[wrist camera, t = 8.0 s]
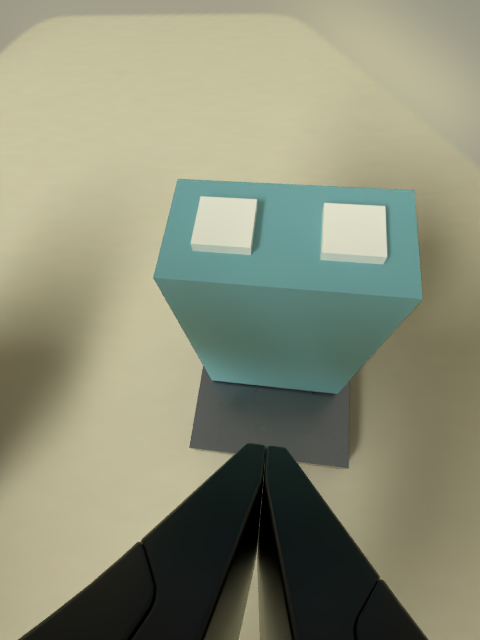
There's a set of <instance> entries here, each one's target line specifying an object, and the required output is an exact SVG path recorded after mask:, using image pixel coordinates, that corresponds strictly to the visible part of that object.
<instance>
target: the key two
mask: <svg viewBox="0 0 480 640" xmlns="http://www.w3.org/2000/svg"><path fill="white" fill-rule="evenodd" d="M153 278H154V280H155V282H156V283H157V285H158V287H159V289H160V290H161V292H162V294H163V296H164V297H165V299H166V301H167V303H168V304H169V306H170V308H171V310H172V311H173V313H174V315H175V317H176V318H177V320H178V322H179V324H180V325H181V327H182V329H183V331H184V332H185V334H186V336H187V338H188V339H189V341H190V343H191V345H192V346H193V348H194V350H195V352H196V353H197V355H198V357H199V359H200V360H201V362H202V364H203V366H204V367H205V369H206V371H207V373H208V374H209V376H210V378H211V380H214V381H223V382H232V383H242V384H251V385H260V386H269V387H278V388H287V389H297V390H306V391H315V392H324V393H333V394H338V393H339V392H340V390H341V389H342V388H343V387H344V386H345V385H346V384H347V383H348V382H349V380H350V379H351V378H352V377H353V376H354V375H355V374H356V373H357V372H358V370H359V369H360V368H361V367H362V366H363V365H364V364H365V363H366V362H367V360H368V359H369V358H370V357H371V356H372V355H373V354H374V353H375V352H376V350H377V349H378V348H379V347H380V346H381V345H382V344H383V343H384V342H385V340H386V339H387V338H388V337H389V336H390V335H391V334H392V333H393V332H394V330H395V329H396V328H397V327H398V326H399V325H400V324H401V323H402V321H403V320H404V319H405V318H406V317H407V316H408V315H409V314H410V313H411V311H412V310H413V309H414V308H415V307H416V306H417V305H418V304H419V303H420V301H421V300H422V299H423V297H422V284H421V271H420V258H419V246H418V233H417V220H416V207H415V194H414V190H397V189H376V188H355V187H335V186H314V185H293V184H272V183H252V182H231V181H210V180H190V179H178V180H177V184H176V188H175V192H174V196H173V200H172V204H171V208H170V212H169V216H168V220H167V224H166V228H165V232H164V236H163V241H162V245H161V249H160V253H159V257H158V261H157V265H156V269H155V273H154V277H153Z"/></svg>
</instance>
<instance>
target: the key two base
mask: <svg viewBox="0 0 480 640" xmlns="http://www.w3.org/2000/svg"><path fill="white" fill-rule="evenodd" d="M247 443H254V444H262V445H264V446H265V447H266V448H267V447H268V446H278V447H285V448H286V449H287V450H288V451H289V453H290V454H291V455H292V457H293V458H294V459H295V461H296V462H297V463H301V464H308V465H316V466H324V467H331V468H339V469H348V467H349V382H348V383H347V384H346V385H345V386H344V387H343V388H342V389H341V390H340V392H339V393H338V394H333V393H324V392H315V391H306V390H297V389H287V388H278V387H269V386H260V385H251V384H242V383H232V382H223V381H214V380H211V378H210V376H209V374H208V373H207V371H206V369H205V367H204V366H203V370H202V376H201V382H200V388H199V394H198V400H197V406H196V412H195V418H194V424H193V430H192V435H191V441H190V447H189V448H192V449H195V450H201V451H209V452H217V453H224V454H232V455H235V454H236V453H237V452H238V451H239V450H240V449H241V448H242V447H243V446H244V445H245V444H247ZM265 458H266V455H265Z"/></svg>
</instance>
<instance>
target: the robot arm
mask: <svg viewBox="0 0 480 640" xmlns="http://www.w3.org/2000/svg"><path fill="white" fill-rule="evenodd" d="M265 455H266V458H265ZM264 466H265V469H264ZM263 478H264V481H263ZM262 489H263V492H262ZM261 501H262V504H261ZM260 512H261V515H260ZM259 523H260V527H259ZM258 535H259V538H258ZM257 545H258V554H257ZM256 554H257V562H258V593H259V620H260V640H428V638H427V637H426V636H425V635H424V633H423V632H422V631H421V629H420V628H419V627H418V625H417V624H416V623H415V622H414V620H413V619H412V618H411V616H410V615H409V614H408V612H407V611H406V610H405V609H404V607H403V606H402V605H401V603H400V602H399V601H398V599H397V598H396V597H395V595H394V594H393V592H392V591H391V590H390V588H389V587H388V586H387V584H386V583H385V581H384V580H380V576H379V575H378V573H377V572H376V570H375V569H374V568H373V566H372V565H371V564H370V562H369V561H368V559H367V558H366V557H365V555H364V554H363V553H362V551H361V550H360V548H359V547H358V546H357V544H356V543H355V542H354V540H353V539H352V538H351V536H350V535H349V533H348V532H347V531H346V529H345V528H344V527H343V525H342V524H341V522H340V521H339V520H338V518H337V517H336V516H335V514H334V513H333V511H332V510H331V509H330V507H329V506H328V505H327V503H326V502H325V501H324V499H323V498H322V496H321V495H320V494H319V492H318V491H317V490H316V488H315V487H314V485H313V484H312V483H311V481H310V480H309V479H308V477H307V476H306V474H305V473H304V472H303V470H302V469H301V468H300V466H299V465H298V464H297V462H296V461H295V459H294V458H293V457H292V455H291V454H290V453H289V451H288V450H287V449H286V448H285V447H278V446H268V447H267V448H266V447H265V446H264V445H262V444H254V443H247V444H245V445H244V446H243V447H242V448H241V449H240V450H239V451H238V452H237V453H236V454H235V455H233V456H232V457H231V458H230V459H229V460H228V461H227V462H226V463H225V464H224V465H223V466H221V467H220V468H219V469H218V470H217V471H216V472H215V473H214V474H213V475H212V476H210V477H209V478H208V479H207V480H206V481H205V482H204V483H203V484H202V485H201V486H200V487H198V488H197V489H196V490H195V491H194V492H193V493H192V494H191V495H190V496H189V497H188V498H186V499H185V500H184V501H183V502H182V503H181V504H180V505H179V506H178V507H177V508H176V509H174V510H173V511H172V512H171V513H170V514H169V515H168V516H167V517H166V518H165V519H163V520H162V521H161V522H160V523H159V524H158V525H157V526H156V527H155V528H154V529H153V530H151V531H150V532H149V533H148V534H147V535H146V536H145V537H144V538H143V539H142V540H141V542H137V543H136V544H135V545H134V546H133V547H132V548H131V549H130V550H128V551H127V552H126V553H125V554H124V555H123V556H122V557H121V558H120V559H119V560H117V561H116V562H115V563H114V564H113V565H112V566H110V567H109V568H108V569H107V570H106V571H105V572H103V573H102V574H101V575H100V576H99V577H98V578H97V579H95V580H94V581H93V582H92V583H91V584H90V585H88V586H87V587H86V588H84V589H83V590H82V591H81V592H79V593H78V594H77V595H76V596H74V597H73V598H72V599H70V600H69V601H68V602H67V603H65V604H64V605H63V606H62V607H60V608H59V609H58V610H56V611H55V612H54V613H53V614H51V615H50V616H49V617H48V618H46V619H45V620H44V621H42V622H41V623H40V624H38V625H37V626H36V627H34V628H33V629H32V630H30V631H29V632H28V633H26V634H25V635H24V636H22V637H21V638H20V639H18V640H238V639H239V634H240V630H241V625H242V620H243V616H244V611H245V607H246V602H247V597H248V593H249V588H250V584H251V579H252V574H253V570H254V565H255V559H256Z"/></svg>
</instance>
